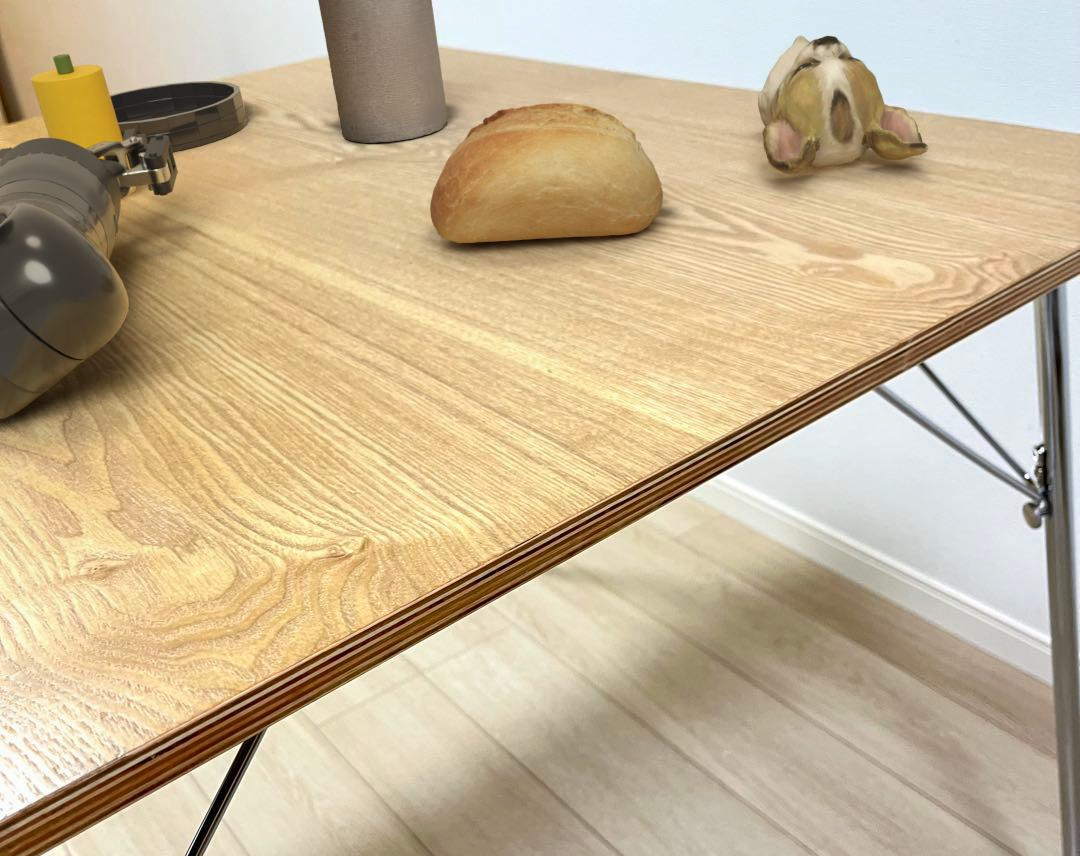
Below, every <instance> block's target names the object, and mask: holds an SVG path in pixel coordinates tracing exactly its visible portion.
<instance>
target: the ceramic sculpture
mask: <svg viewBox="0 0 1080 856" xmlns="http://www.w3.org/2000/svg"><path fill="white" fill-rule="evenodd" d="M757 108H758V111H759V112H758V113H759V115H760V119H761V122H762V124H763V125H764V128H763V130H762V132H761V133H762V137H763V142H762V145H763V149H764V152H765V154H766V155H765V156H766V158H767V161H768V162H769V164H770V165H771V167H773V168H774V169H775V170H776V171H779V172H781V173H783V174H786V175H794V174H797V173H799V172H802V171H804V170H806V169H807V168H808V167H814V168H828V167H833V166H834V167H835V166H841V165H844V164H847V163H851V162H854V161H855V160H856V159H858V158H859V157H861V156H862V155H863V154H865V153H866V152H867V151H868V150H869V149H871V150H872V151H874V152H875V154H876V155H878V156H879V157H880V158H882V159H884V160H887V161H902V160H906V159H909V158H912V157H915V156H916V157H917V156H921V155H923V154H926V153H927V152H928V150H929V145H928V144H927V143H925V142H924V141H923V138H922V135H921V132H919V126H918V124H917V122H916V120H915V119H914V118H913V117H911V116H910V115H909V114H908V113H907V111H906V109H905V108H903V107H899V106H893V105H892V106H891V105H888V104H885V101H884V98H883V94H882V92H881V90H880V87H879V84H878V81H877V78H876V76H875V74H874V73H873V71H871V70H870V69H869V68H868V67H867V66H866V64H865V63H864V62H863V60H861V59H859V58H856V57H854V56H852V54H851V51H850V50H849V48H848V46H847V45H846V44H845V43H843V42H842V41H841V40H840V39H838V37H836V36H835V35H834V36H833V35H825V36H822V37H819V38H815V39H812V40H811V41H810V40H809V39H807V38H806V37H805V36H802V35H798V36H797V37H796V38H794V41H793V43H792V44H791V45H790V47H788V48H787V49H786V50H785V51H784V52H783V53H782V54H781V55H780V56H779V57H778V59H777V61H776V62H775V63H774V65H773V66H772V68H771V69H770V71H769V73H768V75H767V77H766V79H765V82H764V85H763V87H762V89H761V91H760V92H759V93H758V96H757Z"/></svg>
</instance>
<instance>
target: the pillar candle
mask: <svg viewBox="0 0 1080 856" xmlns="http://www.w3.org/2000/svg"><path fill="white" fill-rule="evenodd" d="M317 1H318V7H319V11H320V17H321V23H322V28H323V29H322V30H323V33H324V39H325V45H326V51H327V56H328V61H329V67H330V73H331V79H332V85H333V91H334V95H335V101H336V106H337V107H336V108H337V113H338V118H339V122H340V123H339V124H340V129H341V134H342V137H343V138H344V139H346V140H347V141H351V142H354V143H356V142H359V143H363V144H364V143H366V144H371V143H375V144H377V143H390V142H396V141H399V142H400V141H405V140H412V139H415V138H416V139H417V138H420V137H422V136H427V135H430V134H433V133H435V132H439V131H440V130H442V129H443V128H444V126H445V125H446V123H447V121H448V111H447V104H446V97H445V95H446V94H445V89H444V82H443V81H444V80H443V75H442V67H441V57H440V51H439V44H438V38H437V30H436V23H435V15H434V7H433V0H317Z"/></svg>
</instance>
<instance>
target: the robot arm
mask: <svg viewBox="0 0 1080 856" xmlns="http://www.w3.org/2000/svg"><path fill="white" fill-rule="evenodd" d="M126 154H127V158H128V161H129V165H130V168H131V169H129V167H128V164H127V160H126ZM102 156H104V159H105V160H104V159H99V158H100V157H102ZM178 173H179V171H178V167H177V164H176V159H175V156H174V152H172V148H171V144H170V140H169V137H168V136H167V135H156V136H155V137H153V138H151V139H150V142H149V144H148V141H147V137H146V135H145V134H137V133H136V130H135V128H134V129H128V130H125V132H124V136H123V141H122V142H119V141H102V142H100V143H97V144H95V145H93V146H90V147H88V148H83V147H81V146H79V145H77V144H75V143H72V142H69V141H66V140H62V139H56V138H50V137H40V138H33V139H29V140H26V141H24V142H21V143H19V144H17V145H15V146H14V147H4V148H0V420H3V419H7V418H9V417H11V416H13V415H15V414H16V413H18V412H20V411H22V410H23V409H24V408H26V407H27V406H28V405H30V404H31V403H32V402H33V401H35V400H36V399H37V398H38V397H40V396H41V395H42V394H44V393H45V392H46V391H47V390H48V389H51V388H52V387H53V386H54V385H55V384H57V383H58V382H59V381H61V379H63V378H65V377H66V376H67V375H68V374H70V373H71V372H72V371H73V370H74V369H76V368H78V367H79V366H80V365H81V364H82V363H84V362H85V361H86V360H87V359H89V358H90V357H92V356H93V355H94V354H96V353H97V352H98V351H99V350H100V349H102V348H103V347H105V345H107V344H108V343H109V342H110V341H111V340H112V339H113V338H114V336H115V335H116V334H117V333H118V332H119V330H120V329H121V327H122V326H123V324H124V322H125V321H126V318H127V315H128V313H129V308H130V301H129V295H128V292H127V289H126V287H125V284H124V282H123V279H122V278H121V277H120V275H119V273H118V271H117V270H116V268H115V267H114V266H113V264H112V263H111V260H110V259H111V256H112V253H113V251H114V246H115V242H116V238H117V236H118V233H119V219H120V214H121V205H122V204H121V203H122V202H121V200H122V199H123V198H125V197H126V196H128V195H130V194H132V193H133V192H132V191H133V190H134V186H136V187H139V186H146V187H147V189H148V191H149V192H153V194H154V196H162V197H163V196H167V195H168V194H171V193H173V190H174V188H175V183H176V180H177V176H178ZM131 192H132V193H131ZM129 193H130V194H129ZM127 194H128V195H127Z"/></svg>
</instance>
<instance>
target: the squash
mask: <svg viewBox="0 0 1080 856" xmlns="http://www.w3.org/2000/svg"><path fill="white" fill-rule="evenodd" d="M52 59H53V63H54V66H55V68H54V69H50V70H47V71H44V72H40V73H38V74H35V75H33V76H31V78H30V82H31V85H32V88H33V91H34V94H35V97H36V100H37V104H38V106H39V110H40V112H41V115H42V119H43V122H44V124H45V128H46V131H47V134H48V138H56V139H62V140H66V141H69V142H72V143H75V144H77V145H79V146H81V147H83V148H88V147H90V146H93V145H95V144H97V143H100V142H102V141H119V142H122V141H123V139H122V135H121V132H120V128H119V125H118V121H117V118H116V115H115V111H114V108H113V104H112V101H111V97H110V95H111V94H110V91H109V88H108V84H107V81H106V77H105V72H104V70H103V67H102V66H101V65H98V64H97V65H96V64H83V65H82V64H81V65H73V61H72V58H71V56H70V54H68V53H65V54H58V55H54V56H53V57H52ZM99 159H104V156H102V157H100V158H99ZM104 160H105V159H104ZM126 160H127V164H128V167H129V169H131V168H130V165H129V161H128V158H127V154H126ZM137 187H138V186H134V190H133V191H132V192H131V193H129V194H127V195H126V196H128V195H130V194H133V193H134V192H135V191H136V190H137Z"/></svg>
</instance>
